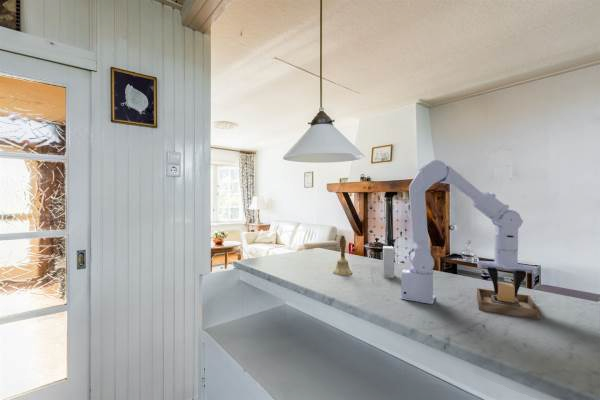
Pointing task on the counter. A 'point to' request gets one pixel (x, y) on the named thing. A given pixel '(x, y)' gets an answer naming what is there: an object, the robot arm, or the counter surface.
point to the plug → (506, 292)
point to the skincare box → (388, 261)
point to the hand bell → (342, 260)
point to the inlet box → (507, 304)
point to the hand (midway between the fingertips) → (505, 294)
